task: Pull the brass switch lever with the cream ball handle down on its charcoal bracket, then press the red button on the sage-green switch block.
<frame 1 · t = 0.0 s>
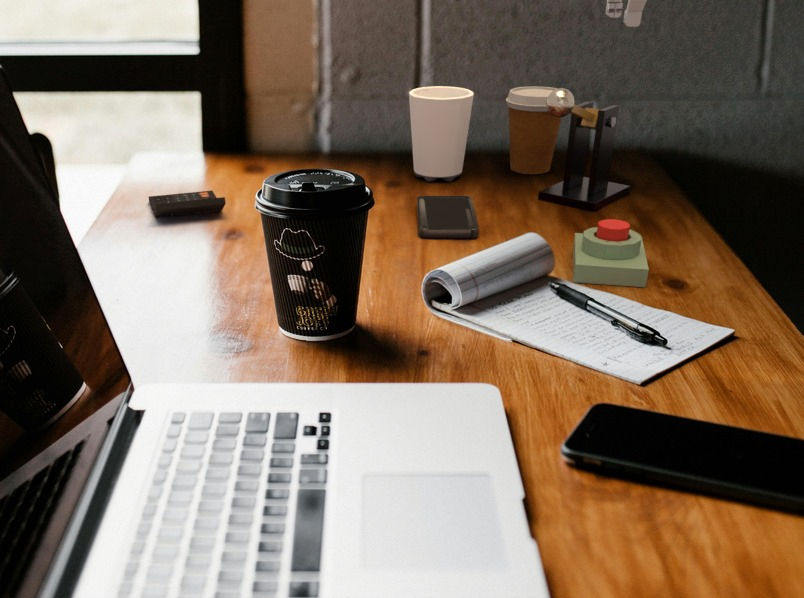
hand: (621, 21, 112), 24 cm above the table, tool pointing down, fingers open, 8 cm apart
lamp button: (612, 231, 100), point 4 cm above the table, slide at 0.1 cm
button block: (607, 267, 102), on the table
cup: (437, 177, 137), on the table
phone: (446, 221, 118), on the table
switch lever: (577, 111, 117), point 13 cm above the table, hinge at 20.0°
calculator: (187, 212, 123), on the table
switch bracket: (583, 196, 127), on the table
disposable coffee cup: (529, 170, 140), on the table
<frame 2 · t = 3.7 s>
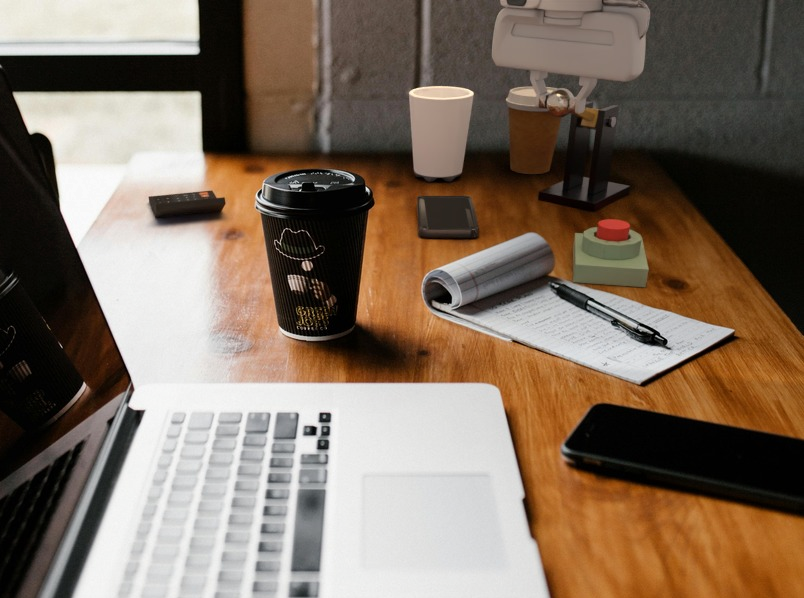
hand: (559, 109, 113), 14 cm above the table, tool pointing down, fingers closed on switch lever, 3 cm apart
switch lever: (577, 111, 117), point 13 cm above the table, hinge at 20.1°, touching gripper
everything else where it was.
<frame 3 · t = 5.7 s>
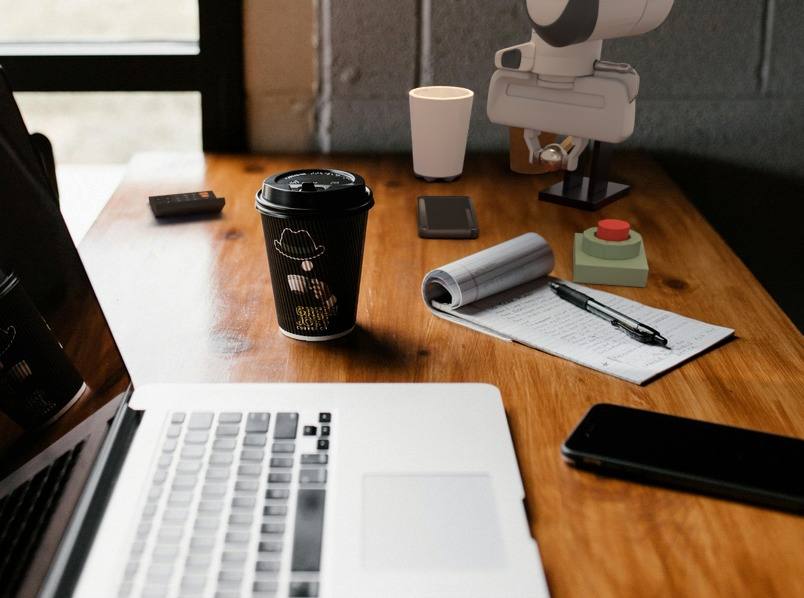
hand: (552, 166, 117), 7 cm above the table, tool pointing down, fingers closed on switch lever, 3 cm apart
switch lever: (573, 138, 119), point 9 cm above the table, hinge at -17.3°, touching gripper
everything else where it was.
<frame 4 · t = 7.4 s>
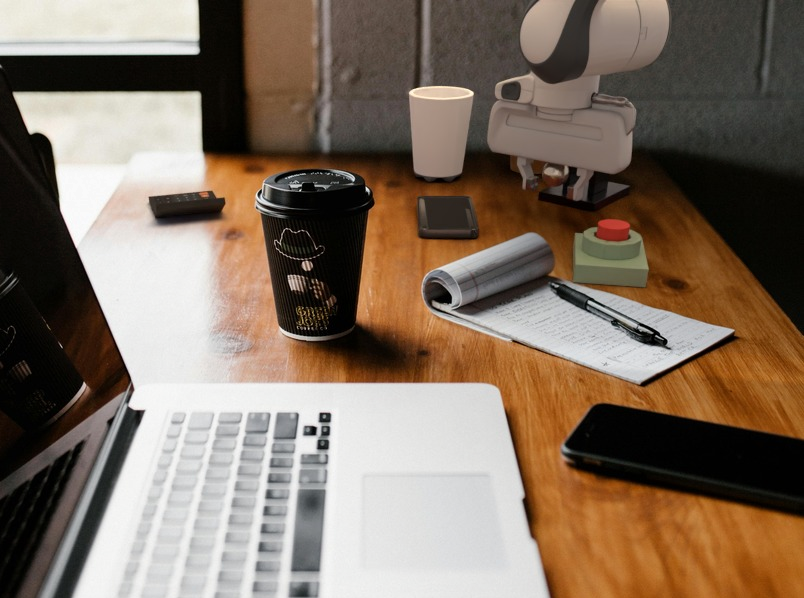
hand: (551, 194, 119), 3 cm above the table, tool pointing down, fingers open, 6 cm apart
switch lever: (574, 146, 120), point 8 cm above the table, hinge at -30.4°
everything else where it was.
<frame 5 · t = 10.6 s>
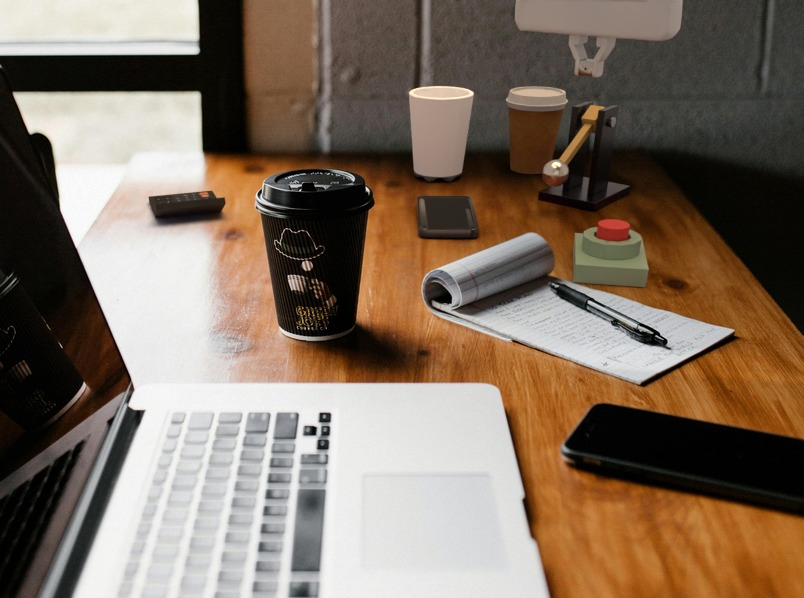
hand: (588, 75, 105), 19 cm above the table, tool pointing down, fingers closed
nothing on the table moved.
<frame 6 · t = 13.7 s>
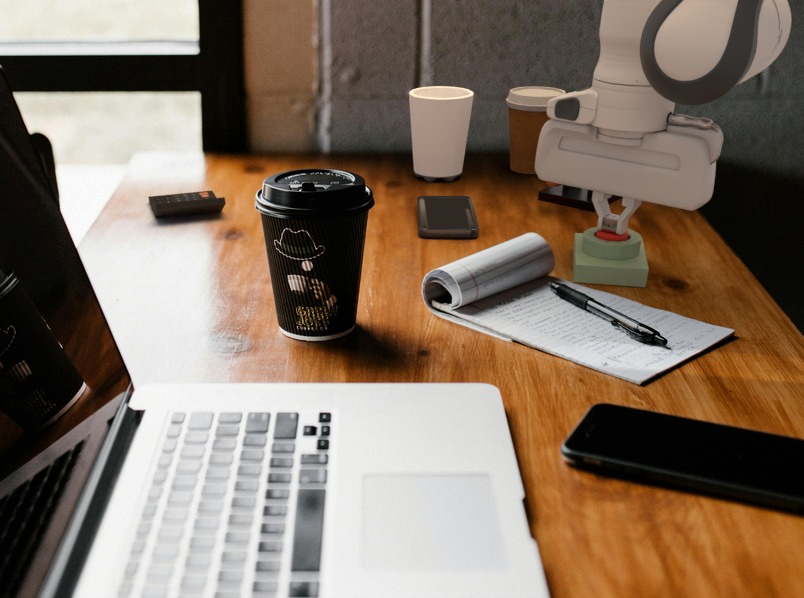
hand: (611, 231, 100), 4 cm above the table, tool pointing down, fingers closed, pressing on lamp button
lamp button: (611, 238, 101), point 4 cm above the table, slide at -0.8 cm, touching gripper
everything else where it was.
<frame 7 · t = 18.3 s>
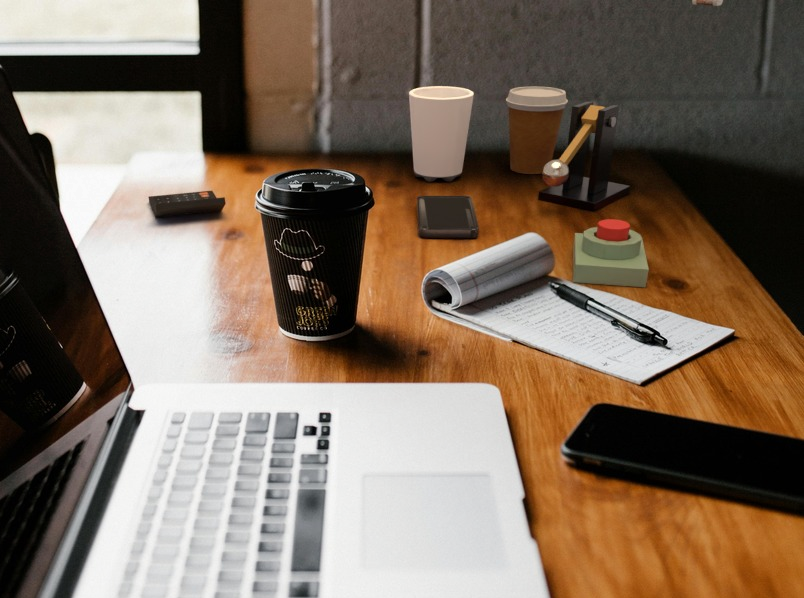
hand: (706, 4, 99), 27 cm above the table, tool pointing down, fingers closed
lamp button: (612, 231, 100), point 4 cm above the table, slide at 0.1 cm
everything else where it was.
at the end: switch lever at -30° (first picture: +20°); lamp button pushed in 1.1 cm at the most during the clip, back to where it started at the end; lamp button slide at 0.1 cm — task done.
